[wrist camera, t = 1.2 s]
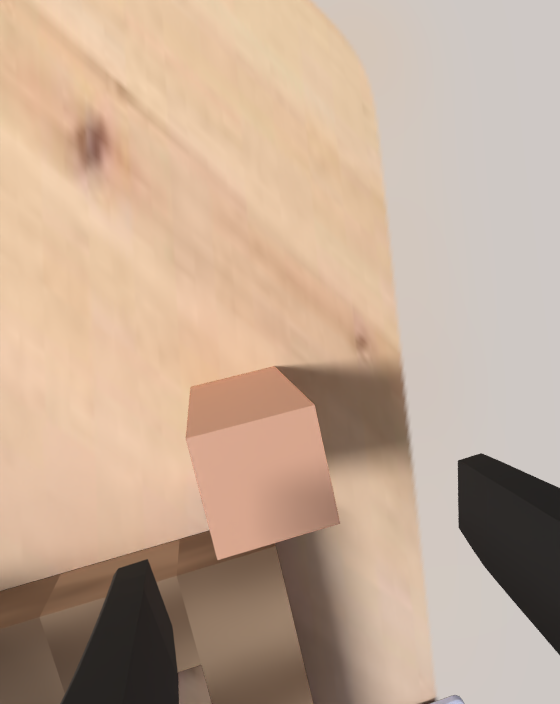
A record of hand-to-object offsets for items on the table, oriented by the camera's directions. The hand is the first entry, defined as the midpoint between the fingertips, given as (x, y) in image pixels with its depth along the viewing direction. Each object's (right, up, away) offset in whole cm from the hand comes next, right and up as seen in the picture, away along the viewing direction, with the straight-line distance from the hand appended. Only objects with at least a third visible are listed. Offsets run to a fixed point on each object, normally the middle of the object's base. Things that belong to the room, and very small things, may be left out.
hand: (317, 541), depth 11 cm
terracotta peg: (-3, +1, +12) cm, 12 cm away
